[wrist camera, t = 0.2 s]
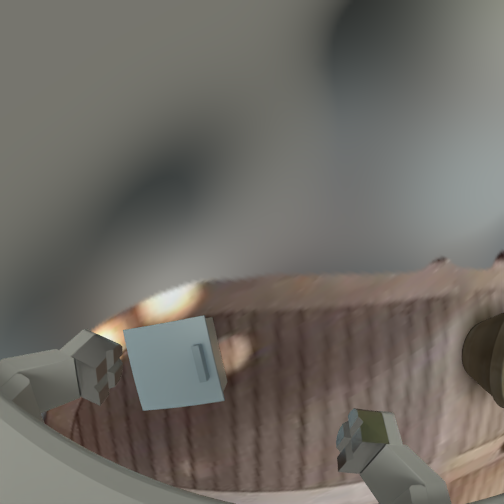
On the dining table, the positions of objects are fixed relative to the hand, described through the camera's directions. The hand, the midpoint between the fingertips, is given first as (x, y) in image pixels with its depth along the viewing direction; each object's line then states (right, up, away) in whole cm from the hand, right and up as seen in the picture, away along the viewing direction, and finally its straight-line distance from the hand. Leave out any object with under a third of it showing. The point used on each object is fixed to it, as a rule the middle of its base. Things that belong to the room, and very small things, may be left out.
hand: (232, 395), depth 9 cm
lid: (-13, -15, +40) cm, 44 cm away
